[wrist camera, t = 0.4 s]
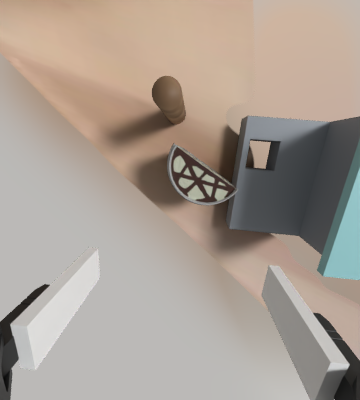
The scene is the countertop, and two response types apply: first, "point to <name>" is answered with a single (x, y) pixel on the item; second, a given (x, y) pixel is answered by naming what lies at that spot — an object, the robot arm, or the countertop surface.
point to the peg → (169, 98)
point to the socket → (303, 187)
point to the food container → (196, 179)
